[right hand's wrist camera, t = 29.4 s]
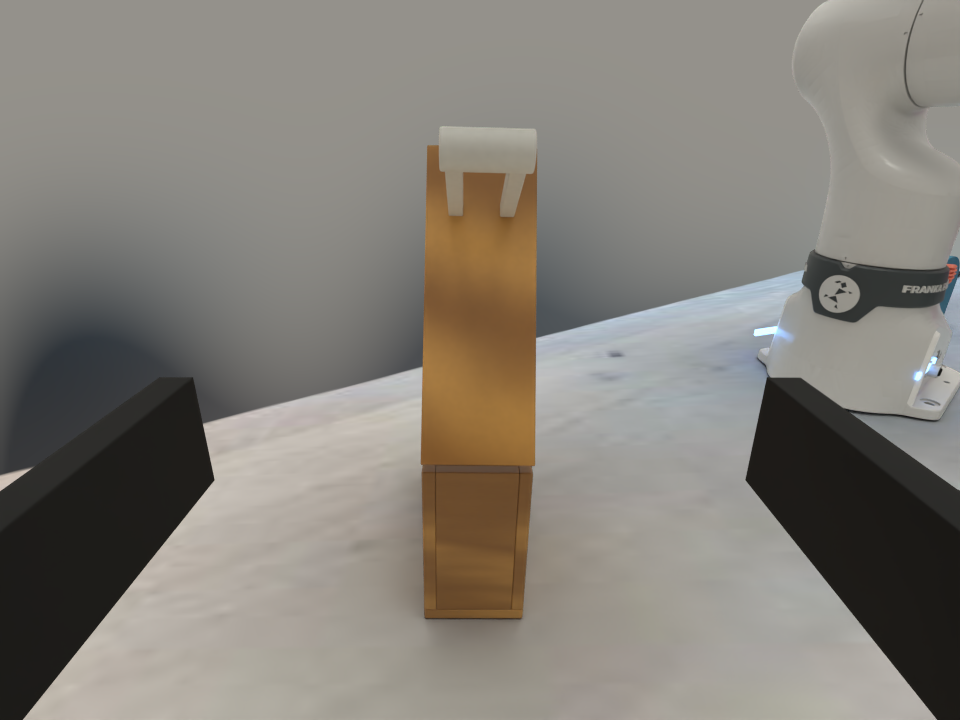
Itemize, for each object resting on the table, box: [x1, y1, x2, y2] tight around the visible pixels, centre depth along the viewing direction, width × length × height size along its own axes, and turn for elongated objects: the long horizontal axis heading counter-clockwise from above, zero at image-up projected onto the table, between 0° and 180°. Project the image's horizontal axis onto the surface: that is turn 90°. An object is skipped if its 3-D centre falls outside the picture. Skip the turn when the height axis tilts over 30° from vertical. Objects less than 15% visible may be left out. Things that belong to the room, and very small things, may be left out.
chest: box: [422, 465, 533, 618], centre depth 35 cm, size 15×5×10 cm, turn 1°
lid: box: [421, 126, 537, 466], centre depth 23 cm, size 16×5×8 cm
